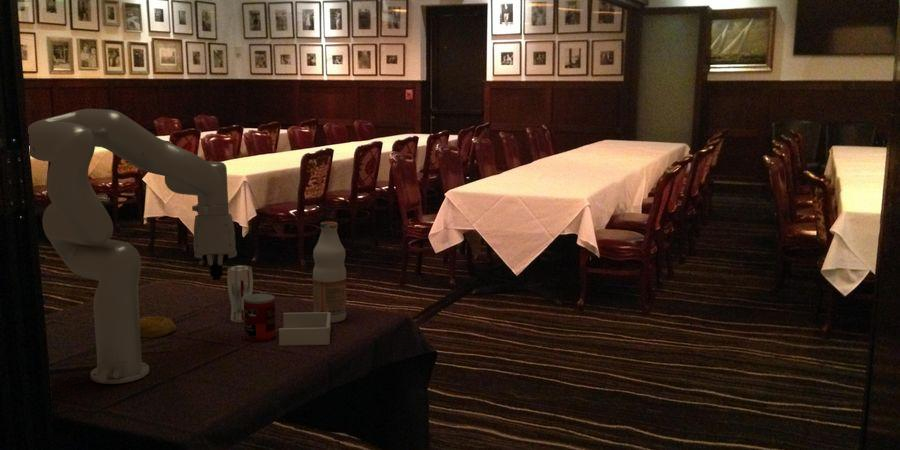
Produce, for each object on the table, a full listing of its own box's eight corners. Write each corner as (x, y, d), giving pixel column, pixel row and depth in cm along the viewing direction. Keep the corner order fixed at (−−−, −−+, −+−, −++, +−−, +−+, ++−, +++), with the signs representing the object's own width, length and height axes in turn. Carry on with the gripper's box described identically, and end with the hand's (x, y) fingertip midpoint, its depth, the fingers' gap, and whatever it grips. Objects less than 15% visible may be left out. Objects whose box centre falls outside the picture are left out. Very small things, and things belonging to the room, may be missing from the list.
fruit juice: (306, 320, 233) (305, 224, 228) (324, 312, 241) (323, 218, 236) (335, 325, 229) (334, 227, 224) (352, 316, 238) (352, 221, 232)
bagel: (179, 336, 218) (178, 318, 217) (135, 341, 213) (134, 324, 212) (173, 325, 227) (172, 309, 226) (130, 330, 222) (129, 313, 221)
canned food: (242, 334, 220) (240, 295, 218) (271, 331, 223) (271, 292, 221) (247, 343, 213) (246, 302, 211) (278, 339, 216) (277, 299, 214)
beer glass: (257, 316, 236) (255, 265, 233) (249, 323, 229) (247, 271, 227) (233, 315, 237) (232, 264, 234) (225, 322, 230) (223, 270, 227)
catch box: (329, 344, 213) (329, 328, 212) (279, 345, 211) (278, 329, 211) (330, 327, 227) (330, 312, 226) (283, 328, 226) (283, 312, 225)
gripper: (180, 213, 206) (184, 283, 209) (241, 212, 208) (244, 282, 211) (186, 207, 213) (190, 275, 217) (245, 206, 215) (247, 274, 219)
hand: (216, 278), depth 214 cm, fingers closed
